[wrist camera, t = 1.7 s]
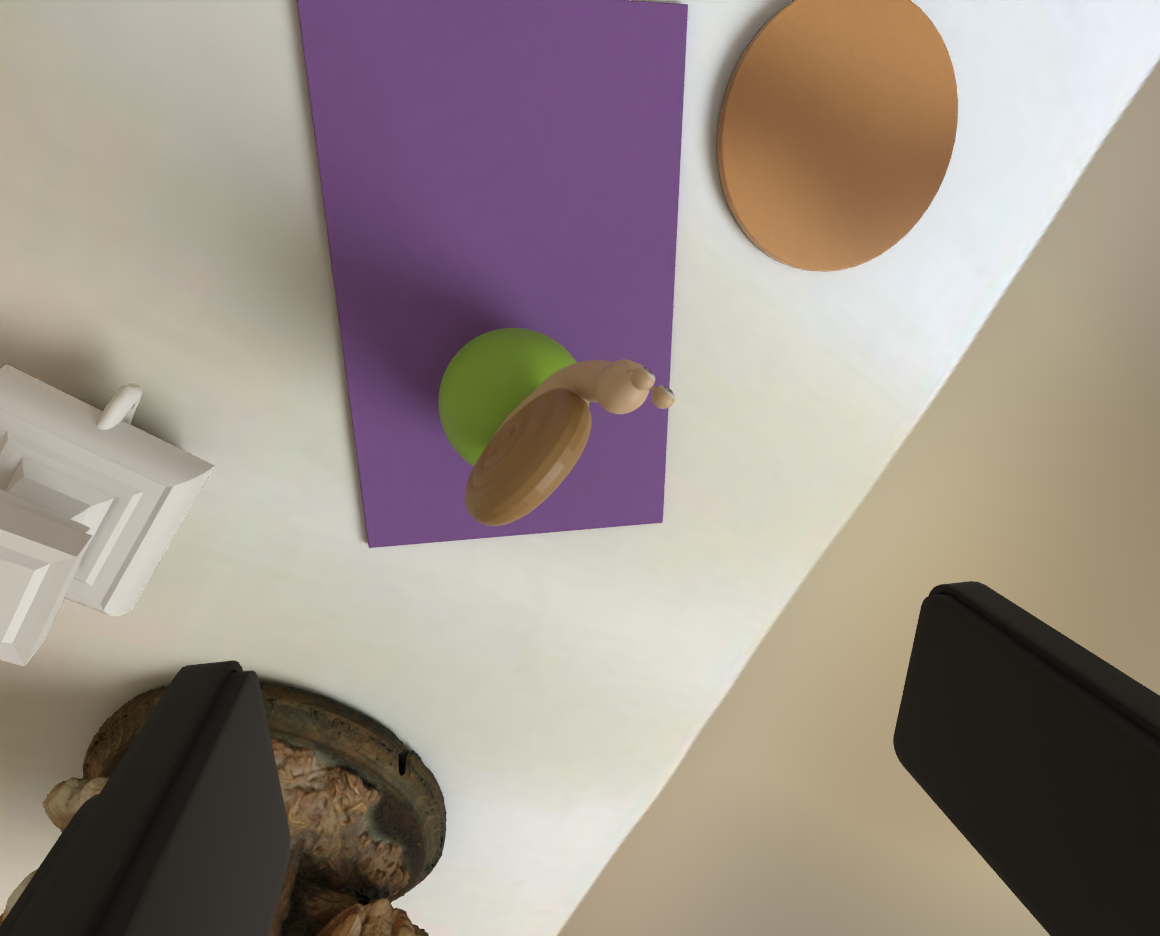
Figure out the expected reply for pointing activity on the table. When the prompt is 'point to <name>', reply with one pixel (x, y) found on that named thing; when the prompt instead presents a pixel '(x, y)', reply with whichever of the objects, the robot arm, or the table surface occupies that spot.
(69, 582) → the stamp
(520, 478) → the snail figurine
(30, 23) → the table surface
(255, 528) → the table surface
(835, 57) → the coaster
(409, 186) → the cloth
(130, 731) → the owl figurine
